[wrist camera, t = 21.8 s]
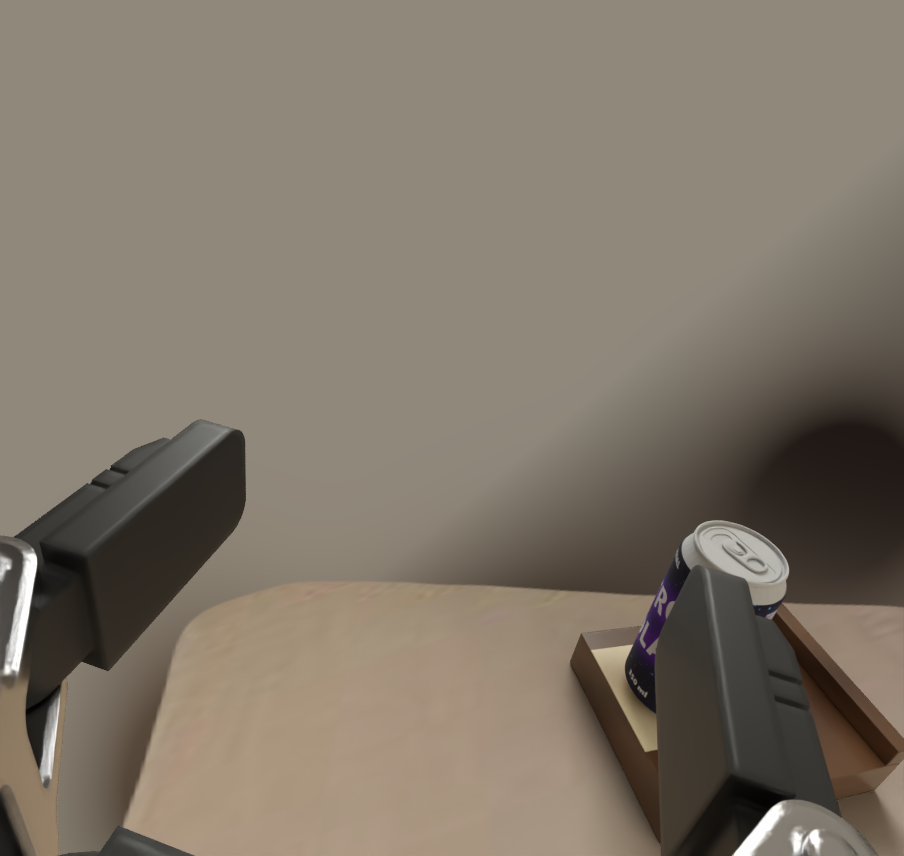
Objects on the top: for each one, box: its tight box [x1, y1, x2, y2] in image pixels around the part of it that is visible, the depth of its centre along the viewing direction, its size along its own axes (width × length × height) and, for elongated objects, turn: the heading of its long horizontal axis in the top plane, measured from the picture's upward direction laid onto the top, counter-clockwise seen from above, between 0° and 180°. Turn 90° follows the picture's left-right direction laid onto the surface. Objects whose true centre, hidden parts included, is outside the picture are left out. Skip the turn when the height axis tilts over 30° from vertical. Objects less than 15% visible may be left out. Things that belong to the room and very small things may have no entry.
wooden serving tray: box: [570, 603, 904, 843], centre depth 40 cm, size 12×16×4 cm
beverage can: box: [625, 521, 789, 715], centre depth 36 cm, size 6×6×12 cm
